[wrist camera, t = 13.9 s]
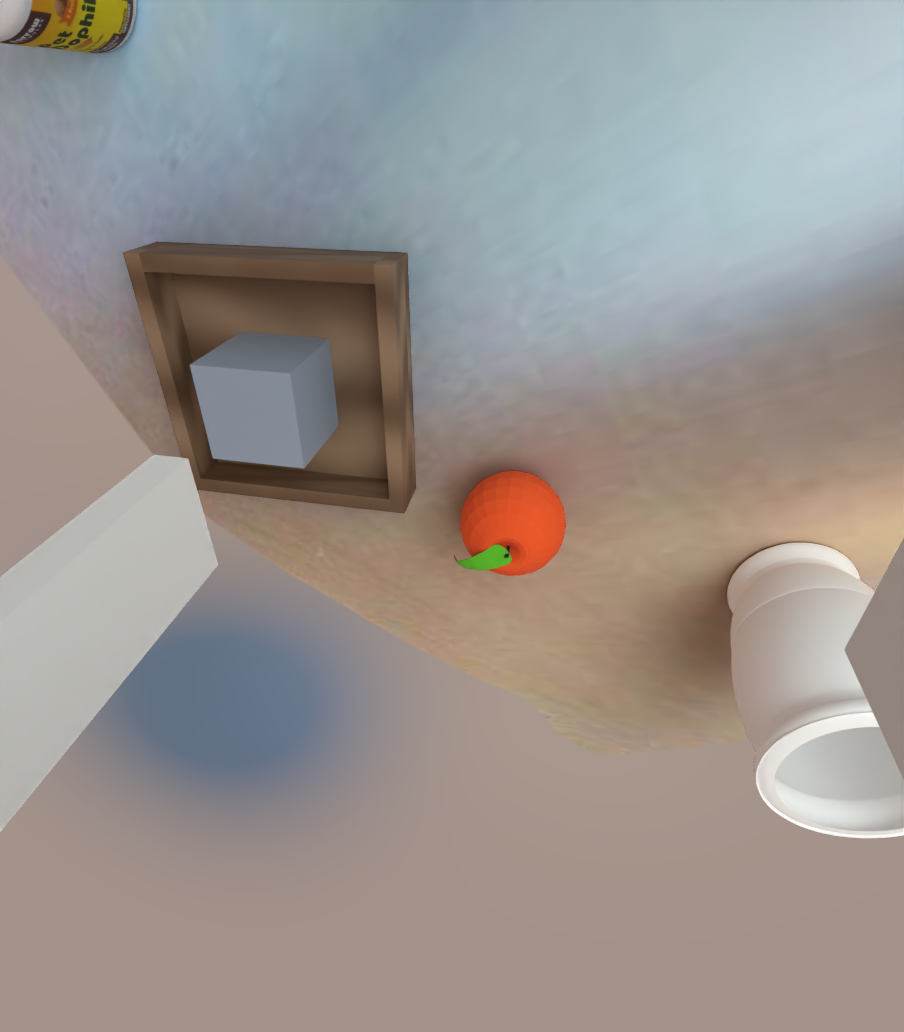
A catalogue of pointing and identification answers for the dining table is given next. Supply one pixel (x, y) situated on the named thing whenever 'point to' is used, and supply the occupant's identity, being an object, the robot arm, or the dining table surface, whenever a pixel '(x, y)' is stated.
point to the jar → (810, 693)
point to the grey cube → (267, 398)
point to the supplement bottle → (67, 23)
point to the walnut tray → (293, 312)
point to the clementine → (512, 524)
